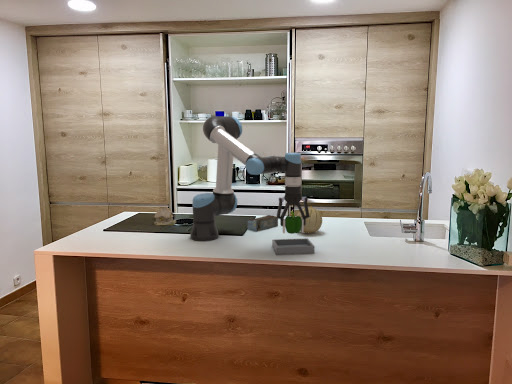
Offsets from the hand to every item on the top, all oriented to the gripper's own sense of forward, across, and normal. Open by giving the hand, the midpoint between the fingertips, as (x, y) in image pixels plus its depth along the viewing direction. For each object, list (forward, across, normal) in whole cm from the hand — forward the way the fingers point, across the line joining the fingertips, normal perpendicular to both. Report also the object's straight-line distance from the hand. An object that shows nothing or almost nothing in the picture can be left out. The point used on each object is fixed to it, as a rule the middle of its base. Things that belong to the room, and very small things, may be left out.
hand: (293, 232), depth 197 cm
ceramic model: (+9, -68, +65) cm, 95 cm away
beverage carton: (+9, -9, +46) cm, 47 cm away
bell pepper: (0, 0, 0) cm, 0 cm away
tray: (+9, 0, 0) cm, 9 cm away
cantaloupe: (+9, +15, +31) cm, 35 cm away
